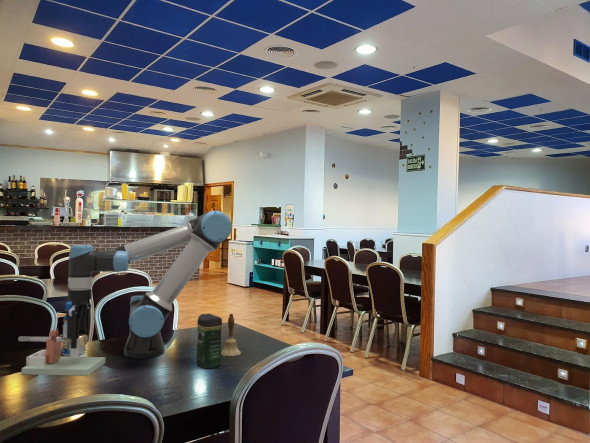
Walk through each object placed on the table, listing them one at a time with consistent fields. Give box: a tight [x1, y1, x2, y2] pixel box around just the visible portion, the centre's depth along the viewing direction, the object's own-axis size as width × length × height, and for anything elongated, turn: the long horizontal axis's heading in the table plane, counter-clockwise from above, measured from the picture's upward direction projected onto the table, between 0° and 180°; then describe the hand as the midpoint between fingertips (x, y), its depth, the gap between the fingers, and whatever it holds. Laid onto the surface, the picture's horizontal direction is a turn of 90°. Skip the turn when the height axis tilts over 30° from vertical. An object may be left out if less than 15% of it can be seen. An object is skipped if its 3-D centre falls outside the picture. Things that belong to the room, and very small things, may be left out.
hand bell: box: [221, 313, 242, 357], centre depth 174 cm, size 8×8×16 cm
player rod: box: [17, 329, 89, 363], centre depth 152 cm, size 23×5×11 cm, turn 91°
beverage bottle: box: [61, 301, 86, 357], centre depth 170 cm, size 8×8×20 cm
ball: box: [37, 349, 46, 357], centre depth 151 cm, size 4×4×4 cm
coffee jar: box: [195, 313, 223, 369], centre depth 159 cm, size 10×8×19 cm
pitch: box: [20, 349, 106, 377], centre depth 151 cm, size 22×14×5 cm, turn 91°
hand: (77, 355), depth 152 cm, fingers closed on player rod, 4 cm apart
